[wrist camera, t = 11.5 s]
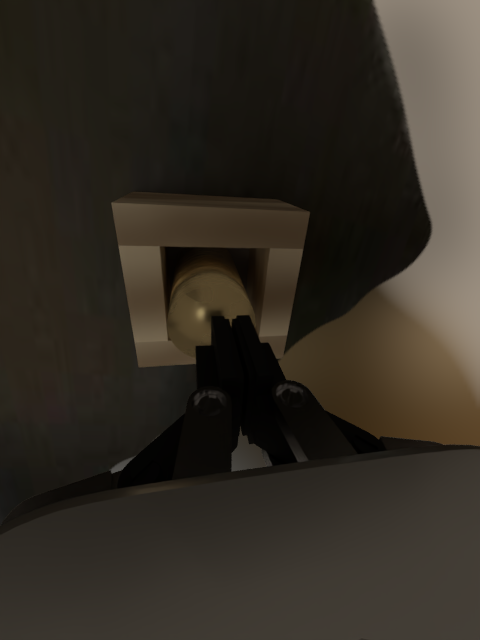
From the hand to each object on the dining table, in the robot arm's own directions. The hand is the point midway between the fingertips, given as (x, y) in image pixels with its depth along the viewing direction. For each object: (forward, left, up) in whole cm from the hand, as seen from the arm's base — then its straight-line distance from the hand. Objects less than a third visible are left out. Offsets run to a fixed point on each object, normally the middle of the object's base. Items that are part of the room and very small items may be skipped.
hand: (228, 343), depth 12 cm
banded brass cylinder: (0, 0, -10) cm, 10 cm away
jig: (0, 0, -11) cm, 11 cm away
